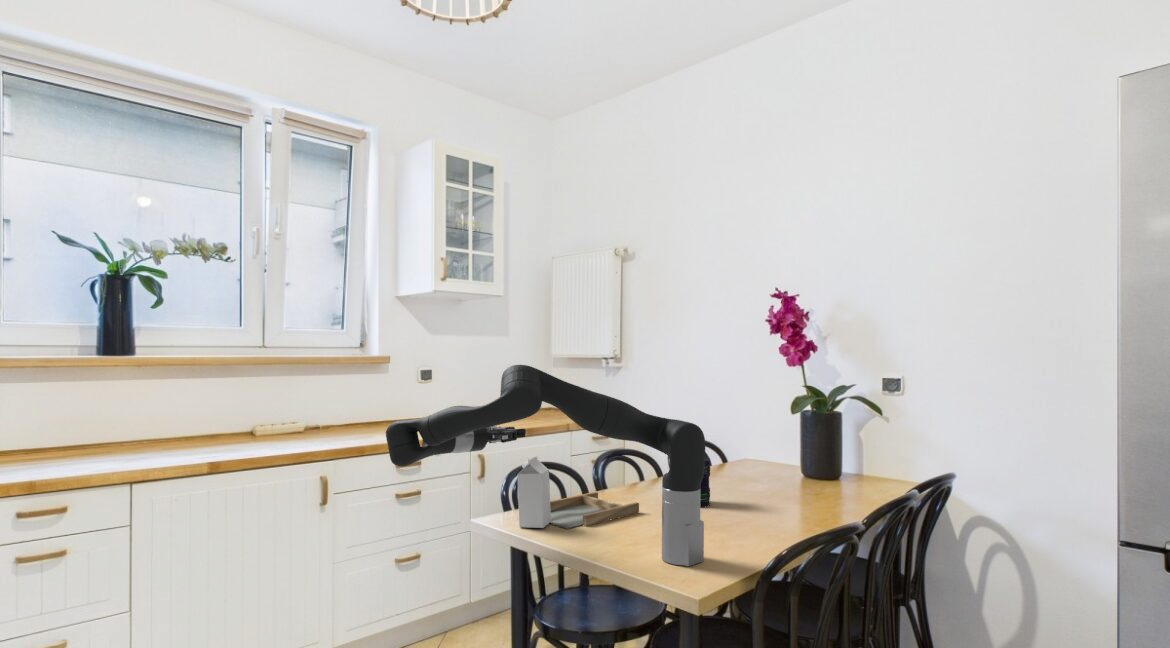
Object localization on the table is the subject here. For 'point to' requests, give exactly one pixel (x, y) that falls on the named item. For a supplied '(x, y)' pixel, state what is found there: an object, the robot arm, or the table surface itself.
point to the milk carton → (534, 495)
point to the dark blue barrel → (705, 485)
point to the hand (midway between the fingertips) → (519, 431)
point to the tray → (587, 510)
